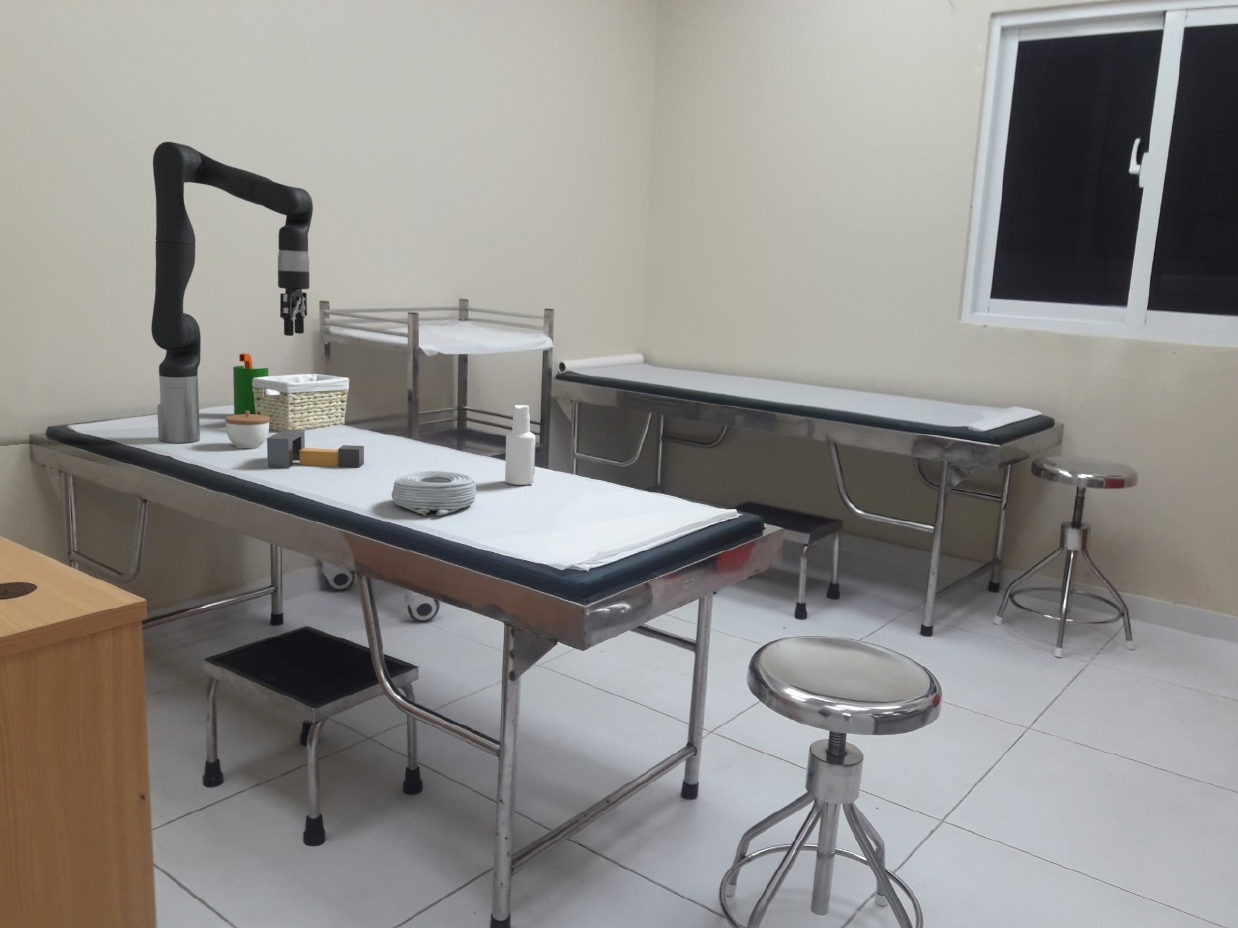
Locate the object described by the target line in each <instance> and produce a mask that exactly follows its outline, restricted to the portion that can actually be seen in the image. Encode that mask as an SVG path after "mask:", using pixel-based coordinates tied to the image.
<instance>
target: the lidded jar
mask: <svg viewBox="0 0 1238 928" xmlns="http://www.w3.org/2000/svg"><path fill="white" fill-rule="evenodd" d="M224 421H225V427H226V434H227V436H228V438H229V441H230V442H231V443H232V444H233V445H235V448H237V447H239V448H238V449H242V448H252V449H257V448H256V447H259V448H261V447H260V446H262V445H263V444H264V442H266V441H267V438H268V436H269V433H270V431H269V430H270V429H269V421H270V419H269V417H268V416H265V415H257V414H250V411H245V414H240V415H234V414H231V415H227V416H226V417H225V419H224Z"/></svg>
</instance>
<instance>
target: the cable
mask: <svg viewBox="0 0 1238 928" xmlns="http://www.w3.org/2000/svg"><path fill="white" fill-rule="evenodd" d="M392 488H393V489H392V492H391V499H392V500H393V501H394V502H395V504H396V505H397V506H399V507H401V508H402V507H403V508H405V509H407V510H409V511H411V512H414V513H417V514H421V515H423V516H427V514H429V513H430V511H432V512H435V515H436V516H444V515H448V514H450V513H454V512H456V511H459V510H461V509H462V508H463V509H464V508H466V507H469V506H471V505H473V503H475V500H476V495H477V490H476V488H477V484H476V481H475V479H474V478H472V477H470V476H468V475H467V474H464V473H460V472H453V471H444V470H442V471H441V470H427V471H424V470H423V471H416V472H411V473H410V472H409V473H406V474H403V475H401V476H399V477H397V478H396V479H395V480H394V482H393V486H392Z"/></svg>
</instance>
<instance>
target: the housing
mask: <svg viewBox="0 0 1238 928" xmlns="http://www.w3.org/2000/svg"><path fill="white" fill-rule="evenodd" d="M305 431H306V430H288V429H284V430H282V431H278V432H276V433H275V434H272V435H271V436H269V437H268V436H267V439H266V449H267V450H266V451H267V452H266V453H267V454H266V455H267V456H266V457H267V458H266V459H267V468H273V469H274V468H275V469H276V468H277V469H290V468H292V467H293V466H294V463H293V462H294V461H300V459H299V451H300V450H301V449H303V448H306V444H305V443H306V441H305V440H306V439H305V436H306V435H305ZM293 460H294V461H293Z"/></svg>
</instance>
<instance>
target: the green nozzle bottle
mask: <svg viewBox="0 0 1238 928" xmlns="http://www.w3.org/2000/svg"><path fill="white" fill-rule="evenodd" d="M238 355H239V357H238V358H239V362H243V364H244V365H236V366H235V365H234V366H233V367H232V369H233V370H232V371H233V375H232V376H233V377H232V378H233V379H232V380H233V381H232V382H233V407H234V408H233V415H240V414H245V411H250V414H256V413H255V401H254V393H253V386H252V382H253V378H255V377H256V378H257V377H266V376H269V367H263V368H253V361H252V356H251V354H250V353H244V352H243V353H242V352H241V353H239V354H238Z"/></svg>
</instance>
